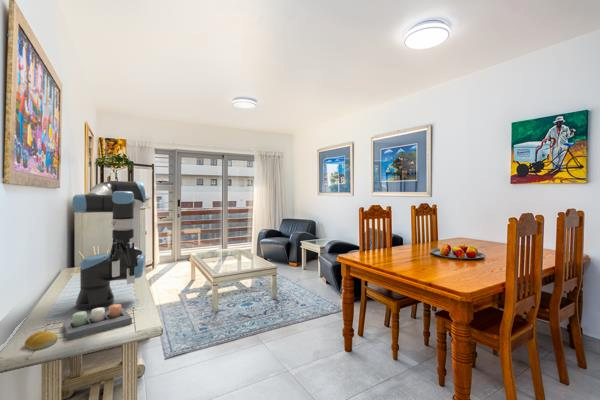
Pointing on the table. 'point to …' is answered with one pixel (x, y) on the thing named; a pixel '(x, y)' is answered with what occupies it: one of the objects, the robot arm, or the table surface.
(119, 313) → the brown egg
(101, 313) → the cream button
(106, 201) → the robot arm
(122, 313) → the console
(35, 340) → the bread roll
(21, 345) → the table surface
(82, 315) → the pale green rounded dome
